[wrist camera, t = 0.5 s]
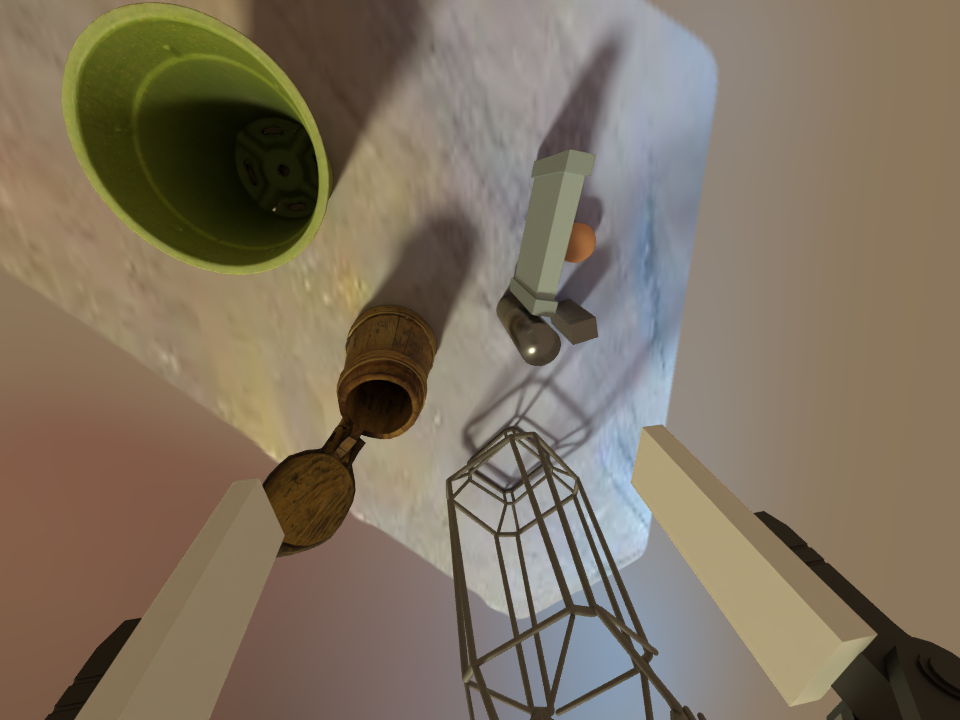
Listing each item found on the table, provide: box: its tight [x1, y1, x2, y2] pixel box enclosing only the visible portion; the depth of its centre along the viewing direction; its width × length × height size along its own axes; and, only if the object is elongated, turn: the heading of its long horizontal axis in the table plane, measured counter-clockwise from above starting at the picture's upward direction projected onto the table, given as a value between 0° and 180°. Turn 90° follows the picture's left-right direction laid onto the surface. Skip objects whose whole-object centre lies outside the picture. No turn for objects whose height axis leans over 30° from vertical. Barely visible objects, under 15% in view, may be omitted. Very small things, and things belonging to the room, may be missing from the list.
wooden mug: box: [262, 305, 436, 557], centre depth 27 cm, size 9×14×18 cm, turn 132°
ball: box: [564, 223, 596, 263], centre depth 31 cm, size 4×4×4 cm
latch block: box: [551, 299, 598, 345], centre depth 33 cm, size 2×2×6 cm
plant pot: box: [62, 2, 333, 275], centre depth 22 cm, size 12×12×11 cm
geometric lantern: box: [446, 428, 706, 720], centre depth 28 cm, size 16×16×35 cm
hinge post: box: [497, 294, 561, 366], centre depth 31 cm, size 3×3×10 cm
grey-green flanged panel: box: [510, 149, 596, 317], centre depth 27 cm, size 11×2×8 cm, turn 171°
